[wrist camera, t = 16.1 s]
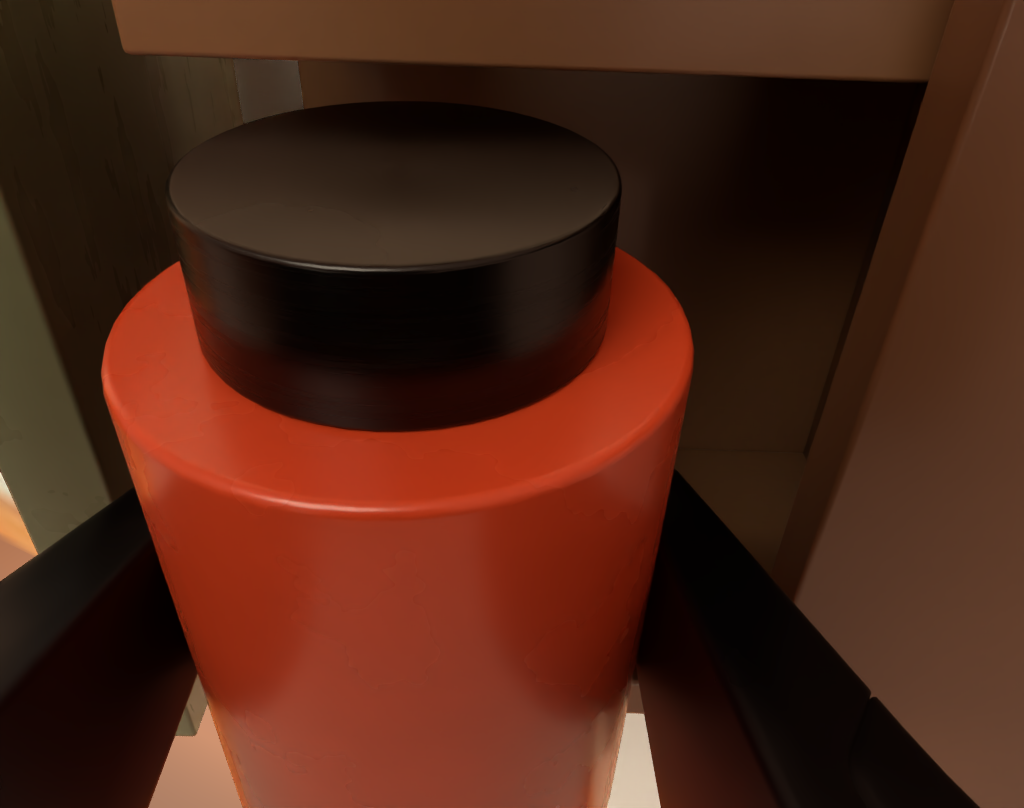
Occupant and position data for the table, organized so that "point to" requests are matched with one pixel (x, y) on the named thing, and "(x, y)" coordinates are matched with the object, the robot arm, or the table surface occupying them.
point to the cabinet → (935, 431)
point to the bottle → (405, 452)
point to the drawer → (488, 83)
